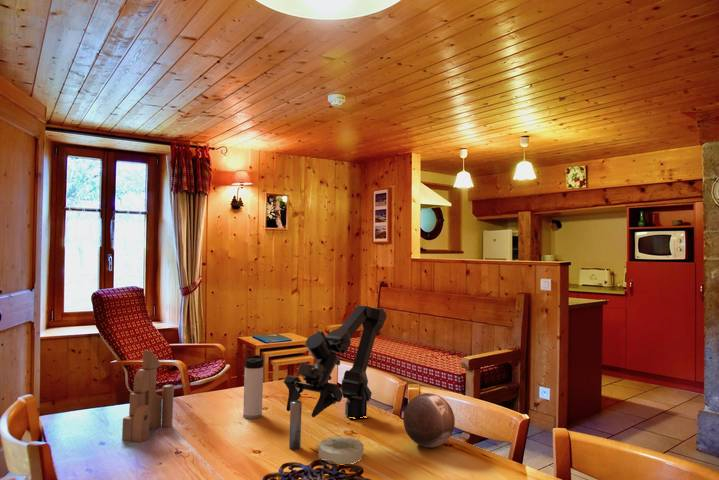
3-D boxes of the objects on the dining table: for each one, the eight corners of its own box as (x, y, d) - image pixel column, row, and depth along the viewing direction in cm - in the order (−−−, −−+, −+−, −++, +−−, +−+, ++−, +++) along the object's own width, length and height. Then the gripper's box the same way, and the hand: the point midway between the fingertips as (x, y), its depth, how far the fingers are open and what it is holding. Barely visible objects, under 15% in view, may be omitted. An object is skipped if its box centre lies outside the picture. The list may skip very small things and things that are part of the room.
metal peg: (299, 445, 140) (300, 400, 141) (301, 449, 137) (302, 403, 138) (288, 446, 139) (289, 400, 140) (290, 450, 136) (291, 404, 137)
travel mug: (264, 413, 168) (266, 355, 168) (258, 419, 161) (260, 359, 162) (247, 412, 168) (248, 354, 169) (240, 418, 162) (242, 358, 162)
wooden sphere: (436, 460, 132) (437, 405, 132) (392, 445, 142) (393, 394, 142) (463, 445, 143) (464, 394, 144) (421, 432, 153) (422, 384, 153)
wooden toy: (141, 443, 139) (144, 355, 140) (121, 440, 141) (125, 353, 142) (174, 425, 154) (177, 346, 155) (156, 423, 156) (159, 344, 157)
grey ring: (354, 445, 141) (354, 435, 141) (368, 462, 130) (369, 451, 130) (314, 450, 137) (314, 439, 137) (325, 467, 126) (326, 456, 126)
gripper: (288, 348, 150) (262, 392, 140) (338, 356, 140) (314, 404, 131) (303, 370, 157) (279, 413, 147) (352, 378, 147) (330, 425, 137)
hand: (299, 413), depth 140 cm, fingers open, 9 cm apart
